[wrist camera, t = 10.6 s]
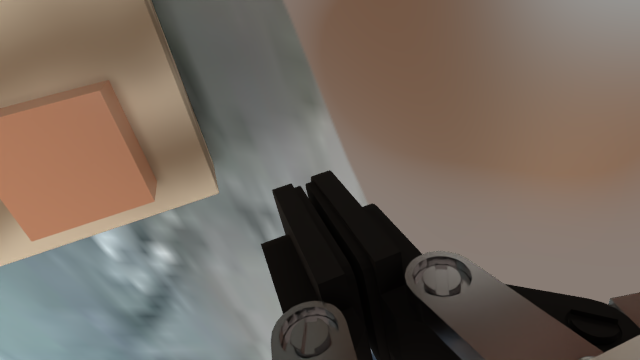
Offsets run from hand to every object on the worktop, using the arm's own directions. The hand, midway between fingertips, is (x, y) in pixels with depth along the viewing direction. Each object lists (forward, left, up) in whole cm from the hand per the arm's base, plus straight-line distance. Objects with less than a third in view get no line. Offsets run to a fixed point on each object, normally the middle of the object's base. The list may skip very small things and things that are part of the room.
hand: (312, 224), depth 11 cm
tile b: (0, -9, -13) cm, 16 cm away
